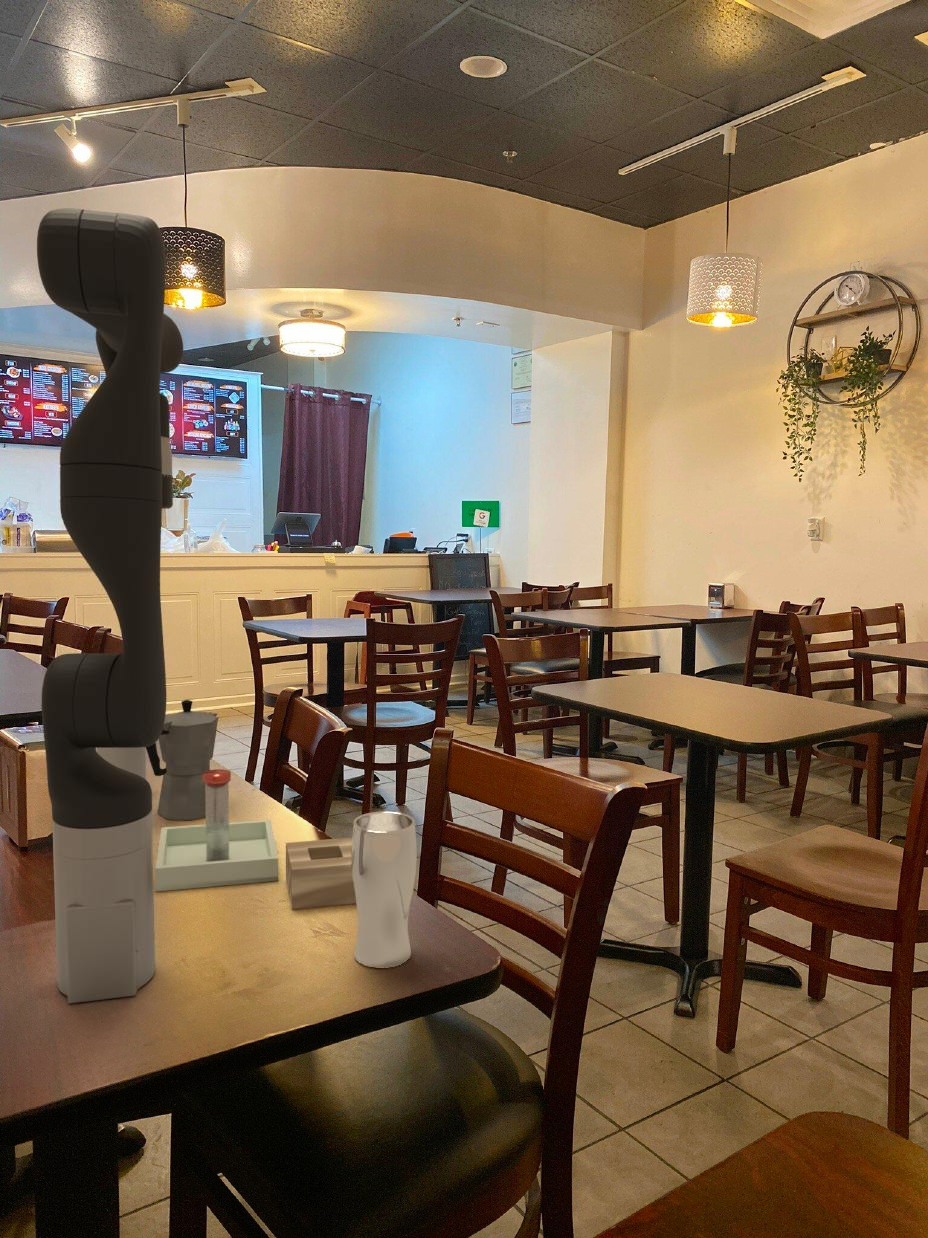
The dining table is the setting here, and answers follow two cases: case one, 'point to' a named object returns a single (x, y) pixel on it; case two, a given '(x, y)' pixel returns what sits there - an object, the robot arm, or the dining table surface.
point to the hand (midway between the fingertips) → (144, 594)
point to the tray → (189, 869)
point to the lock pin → (217, 814)
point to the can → (126, 759)
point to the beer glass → (383, 886)
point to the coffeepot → (184, 762)
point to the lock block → (319, 873)
